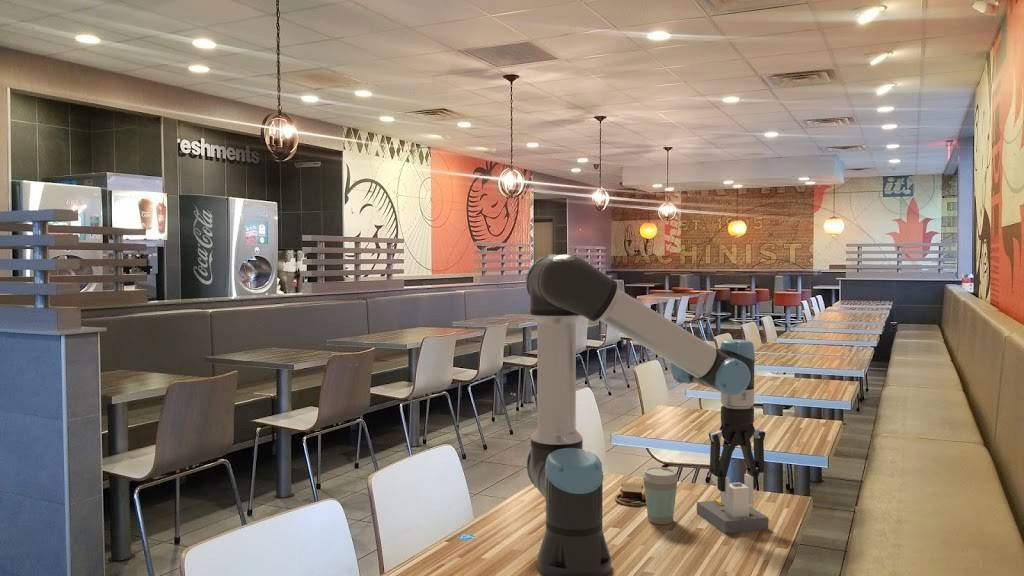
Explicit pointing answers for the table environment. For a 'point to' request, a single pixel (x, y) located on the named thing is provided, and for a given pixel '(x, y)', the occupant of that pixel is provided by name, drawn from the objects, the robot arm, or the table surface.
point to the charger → (738, 500)
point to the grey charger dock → (725, 523)
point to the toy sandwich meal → (631, 495)
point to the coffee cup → (660, 494)
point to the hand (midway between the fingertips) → (736, 503)
